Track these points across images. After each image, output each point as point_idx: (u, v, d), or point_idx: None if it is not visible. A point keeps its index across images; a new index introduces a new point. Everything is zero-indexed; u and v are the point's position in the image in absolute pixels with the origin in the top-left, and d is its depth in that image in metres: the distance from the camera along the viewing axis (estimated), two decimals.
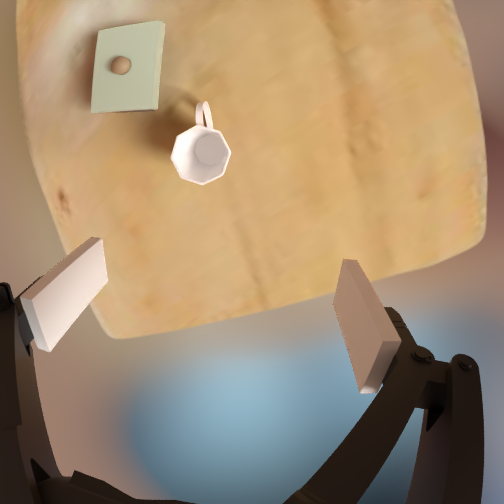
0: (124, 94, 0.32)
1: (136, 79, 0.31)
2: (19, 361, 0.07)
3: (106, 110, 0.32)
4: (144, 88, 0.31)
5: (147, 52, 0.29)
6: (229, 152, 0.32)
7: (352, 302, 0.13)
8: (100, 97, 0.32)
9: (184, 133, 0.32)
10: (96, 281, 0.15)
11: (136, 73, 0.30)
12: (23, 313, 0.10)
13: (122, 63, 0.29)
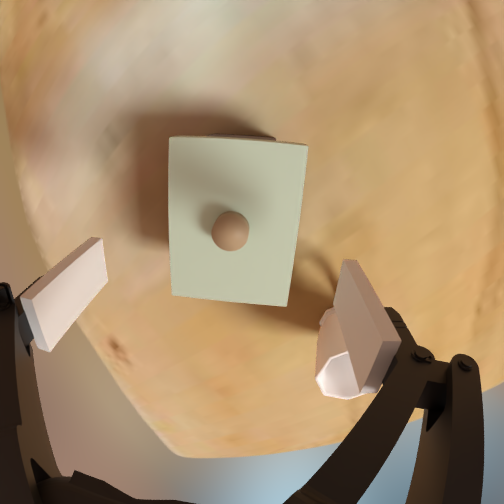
0: (236, 278, 0.22)
1: (259, 257, 0.22)
2: (19, 361, 0.07)
3: (202, 296, 0.23)
4: (274, 274, 0.22)
5: (281, 210, 0.20)
6: None
7: (352, 302, 0.13)
8: (189, 273, 0.23)
9: (341, 355, 0.23)
10: (96, 281, 0.15)
11: (260, 247, 0.21)
12: (23, 313, 0.10)
13: (238, 233, 0.20)
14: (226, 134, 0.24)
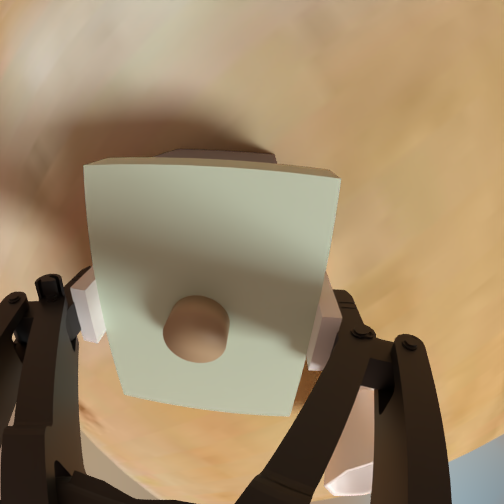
0: (213, 386, 0.13)
1: (248, 362, 0.13)
2: (61, 357, 0.08)
3: (166, 401, 0.14)
4: (272, 383, 0.13)
5: (287, 296, 0.11)
6: None
7: None
8: (142, 374, 0.13)
9: (361, 466, 0.14)
10: None
11: (248, 349, 0.12)
12: (73, 305, 0.11)
13: (208, 339, 0.11)
14: (196, 149, 0.15)
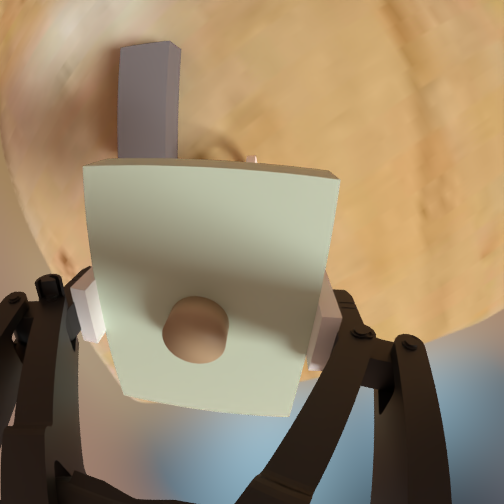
0: (212, 386, 0.13)
1: (248, 362, 0.13)
2: (61, 357, 0.08)
3: (165, 401, 0.14)
4: (272, 383, 0.13)
5: (286, 297, 0.11)
6: None
7: None
8: (142, 375, 0.13)
9: None
10: None
11: (248, 349, 0.12)
12: (73, 304, 0.11)
13: (208, 339, 0.11)
14: None
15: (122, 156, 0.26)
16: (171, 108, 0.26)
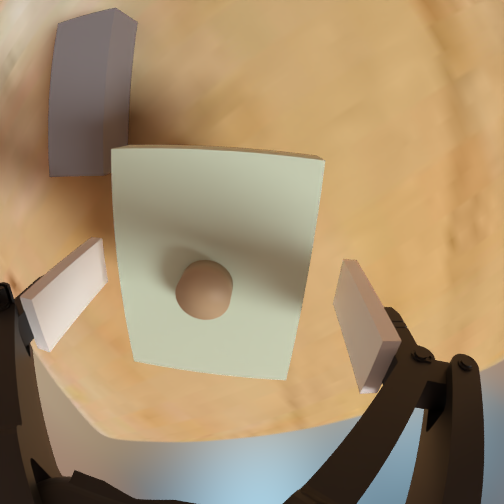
0: (216, 347, 0.16)
1: (249, 323, 0.15)
2: (19, 361, 0.07)
3: (173, 365, 0.16)
4: (270, 344, 0.15)
5: (281, 260, 0.13)
6: None
7: (352, 302, 0.13)
8: (153, 338, 0.16)
9: None
10: (96, 281, 0.15)
11: (249, 309, 0.14)
12: (23, 313, 0.10)
13: (215, 296, 0.13)
14: None
15: (53, 165, 0.18)
16: (115, 97, 0.17)
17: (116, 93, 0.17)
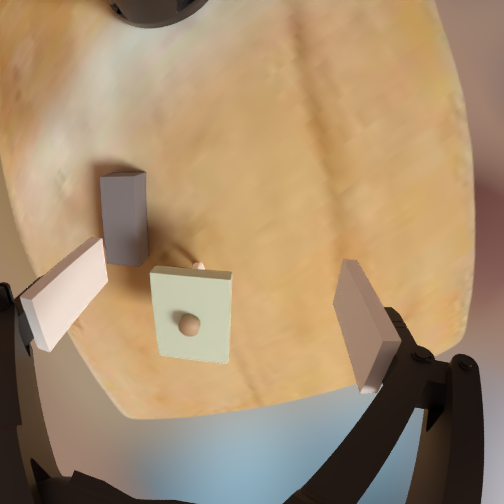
0: (196, 348, 0.36)
1: (208, 337, 0.35)
2: (19, 361, 0.07)
3: (177, 356, 0.37)
4: (218, 346, 0.36)
5: (218, 314, 0.34)
6: None
7: (352, 302, 0.13)
8: (168, 344, 0.36)
9: None
10: (96, 281, 0.15)
11: (207, 332, 0.35)
12: (23, 313, 0.10)
13: (193, 328, 0.33)
14: (119, 172, 0.38)
15: (109, 258, 0.39)
16: (140, 224, 0.38)
17: (140, 222, 0.38)
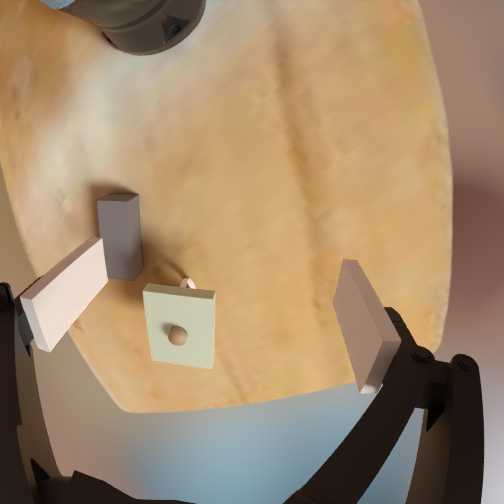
0: (184, 355, 0.40)
1: (194, 346, 0.39)
2: (19, 361, 0.07)
3: (168, 361, 0.41)
4: (203, 354, 0.40)
5: (202, 327, 0.38)
6: None
7: (352, 302, 0.13)
8: (160, 351, 0.40)
9: None
10: (96, 281, 0.15)
11: (194, 342, 0.39)
12: (23, 313, 0.10)
13: (180, 338, 0.37)
14: (114, 194, 0.41)
15: (107, 272, 0.42)
16: (135, 243, 0.42)
17: (135, 240, 0.42)
